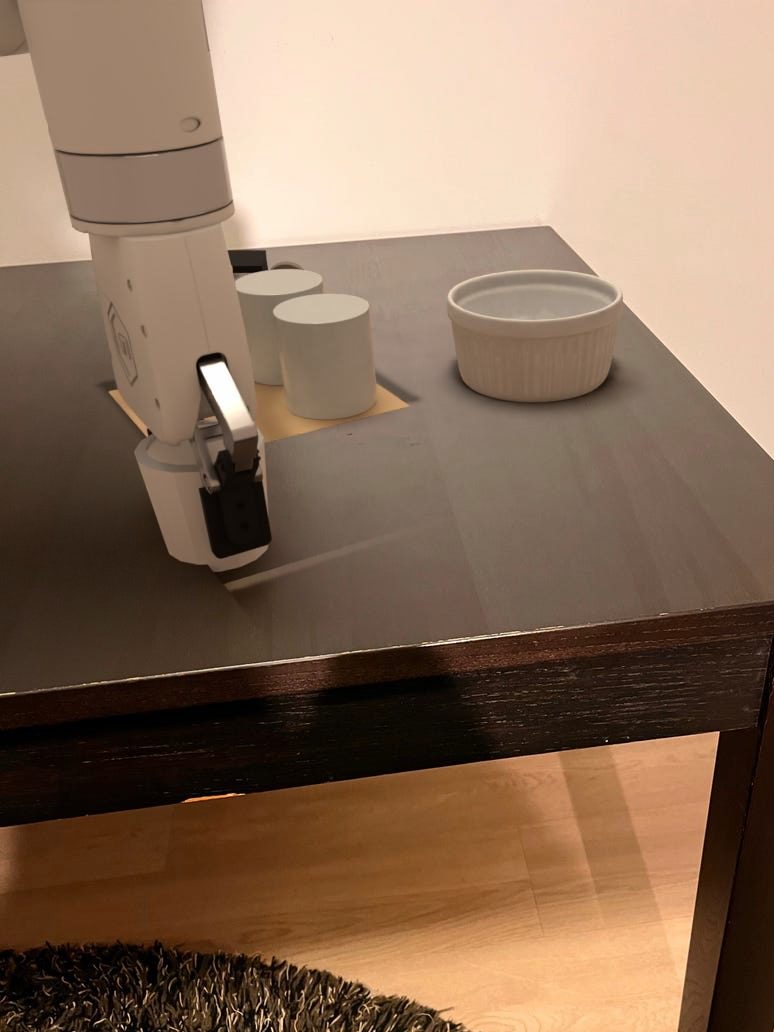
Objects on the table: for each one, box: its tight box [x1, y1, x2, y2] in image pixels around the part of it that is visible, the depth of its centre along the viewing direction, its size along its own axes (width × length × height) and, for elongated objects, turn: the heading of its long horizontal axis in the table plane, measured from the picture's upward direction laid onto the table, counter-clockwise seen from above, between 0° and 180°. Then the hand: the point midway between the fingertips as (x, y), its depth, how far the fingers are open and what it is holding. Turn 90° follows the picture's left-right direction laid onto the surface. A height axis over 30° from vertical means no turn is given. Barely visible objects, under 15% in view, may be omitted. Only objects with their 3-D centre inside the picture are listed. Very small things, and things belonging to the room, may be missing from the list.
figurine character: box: [227, 249, 305, 274], centre depth 88 cm, size 7×8×15 cm
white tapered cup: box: [133, 420, 270, 573], centre depth 56 cm, size 7×7×7 cm
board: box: [107, 382, 411, 444], centre depth 77 cm, size 18×16×1 cm
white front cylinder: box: [273, 293, 377, 420], centre depth 73 cm, size 7×7×7 cm
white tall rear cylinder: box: [234, 269, 325, 386], centre depth 79 cm, size 7×7×7 cm
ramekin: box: [446, 269, 624, 403], centre depth 77 cm, size 13×13×7 cm
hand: (214, 515), depth 57 cm, fingers open, 8 cm apart
